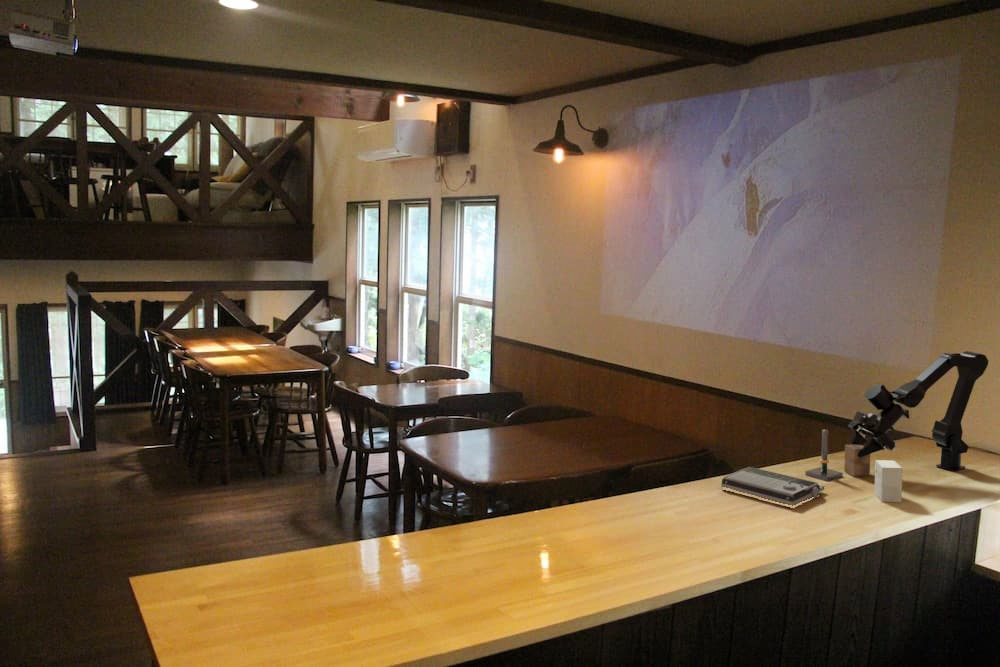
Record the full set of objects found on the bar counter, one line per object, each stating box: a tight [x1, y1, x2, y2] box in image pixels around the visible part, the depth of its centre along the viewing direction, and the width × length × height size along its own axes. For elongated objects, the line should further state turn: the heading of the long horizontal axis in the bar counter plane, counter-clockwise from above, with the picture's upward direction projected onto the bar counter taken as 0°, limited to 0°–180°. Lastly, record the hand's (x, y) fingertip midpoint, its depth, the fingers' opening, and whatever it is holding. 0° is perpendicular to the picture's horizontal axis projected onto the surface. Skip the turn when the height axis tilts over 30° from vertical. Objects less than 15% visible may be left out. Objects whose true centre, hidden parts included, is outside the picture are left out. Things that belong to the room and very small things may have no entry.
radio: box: [721, 466, 825, 506], centre depth 242 cm, size 24×5×20 cm
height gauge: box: [805, 429, 843, 482], centre depth 255 cm, size 8×8×15 cm
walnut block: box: [844, 444, 871, 477], centre depth 256 cm, size 6×6×9 cm
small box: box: [874, 459, 903, 503], centre depth 234 cm, size 8×6×10 cm
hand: (853, 453), depth 256 cm, fingers closed on walnut block, 5 cm apart
